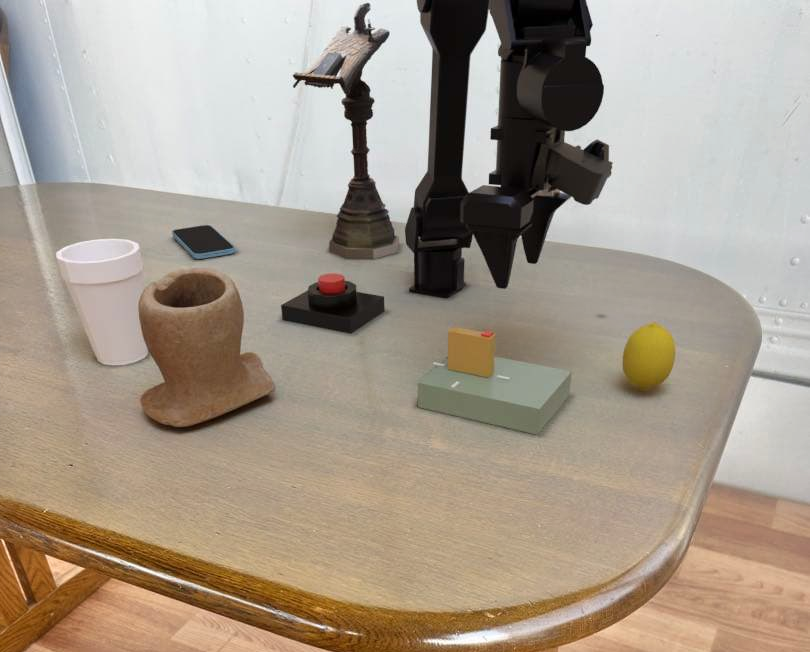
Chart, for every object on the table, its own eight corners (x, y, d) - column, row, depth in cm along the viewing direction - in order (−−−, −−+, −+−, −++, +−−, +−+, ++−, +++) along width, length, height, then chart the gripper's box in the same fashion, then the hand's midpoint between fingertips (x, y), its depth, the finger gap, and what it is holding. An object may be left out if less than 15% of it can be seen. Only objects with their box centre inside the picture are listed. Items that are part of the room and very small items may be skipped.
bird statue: (341, 273, 127) (324, 5, 106) (293, 254, 135) (268, 2, 114) (419, 250, 135) (418, -2, 114) (370, 234, 143) (360, -4, 122)
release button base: (282, 320, 111) (279, 291, 108) (318, 299, 117) (316, 272, 115) (351, 334, 107) (349, 304, 104) (384, 311, 113) (383, 283, 111)
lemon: (611, 381, 94) (621, 314, 89) (658, 379, 94) (670, 312, 90) (626, 403, 90) (637, 333, 85) (675, 400, 90) (689, 331, 85)
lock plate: (413, 406, 90) (412, 379, 88) (452, 371, 97) (452, 346, 95) (537, 435, 84) (539, 407, 82) (569, 396, 91) (572, 370, 89)
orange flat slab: (447, 369, 90) (448, 328, 87) (452, 364, 91) (453, 324, 88) (488, 378, 88) (490, 336, 85) (493, 373, 89) (496, 331, 86)
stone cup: (182, 450, 83) (152, 307, 74) (130, 410, 90) (98, 275, 81) (304, 404, 91) (290, 269, 82) (247, 370, 98) (229, 244, 89)
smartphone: (194, 255, 132) (170, 230, 143) (195, 261, 133) (171, 236, 143) (236, 248, 135) (209, 224, 145) (237, 254, 135) (210, 230, 146)
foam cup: (175, 345, 105) (155, 242, 97) (133, 374, 98) (108, 266, 90) (113, 337, 107) (88, 236, 99) (68, 365, 100) (38, 258, 92)
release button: (313, 292, 109) (312, 279, 108) (328, 284, 112) (327, 271, 111) (336, 296, 108) (335, 283, 107) (350, 288, 110) (349, 275, 109)
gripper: (579, 136, 69) (561, 314, 78) (634, 105, 82) (614, 260, 92) (459, 128, 73) (456, 298, 82) (530, 100, 87) (521, 248, 96)
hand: (517, 275), depth 88 cm, fingers open, 9 cm apart
